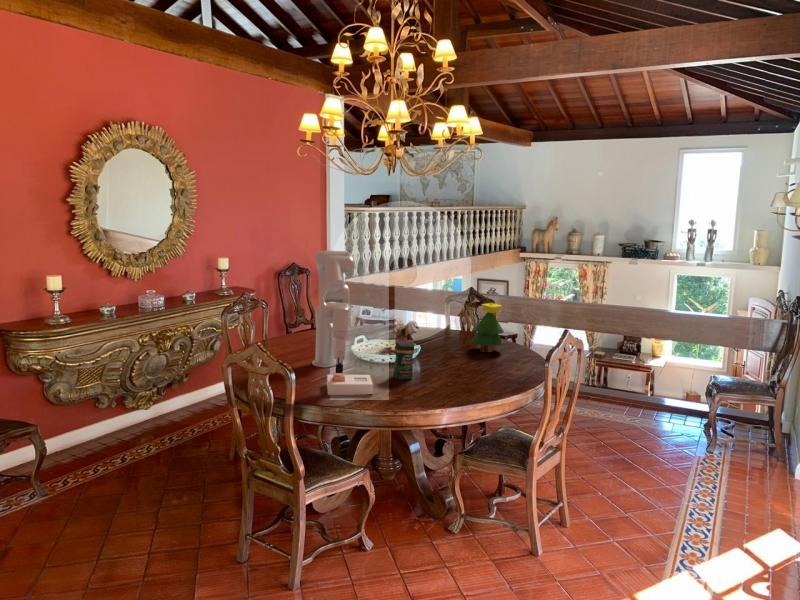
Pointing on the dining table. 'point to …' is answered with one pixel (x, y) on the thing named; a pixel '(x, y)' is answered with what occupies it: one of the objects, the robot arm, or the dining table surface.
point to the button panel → (350, 385)
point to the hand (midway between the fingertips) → (339, 372)
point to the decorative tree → (488, 329)
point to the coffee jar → (403, 360)
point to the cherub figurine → (404, 330)
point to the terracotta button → (338, 377)
